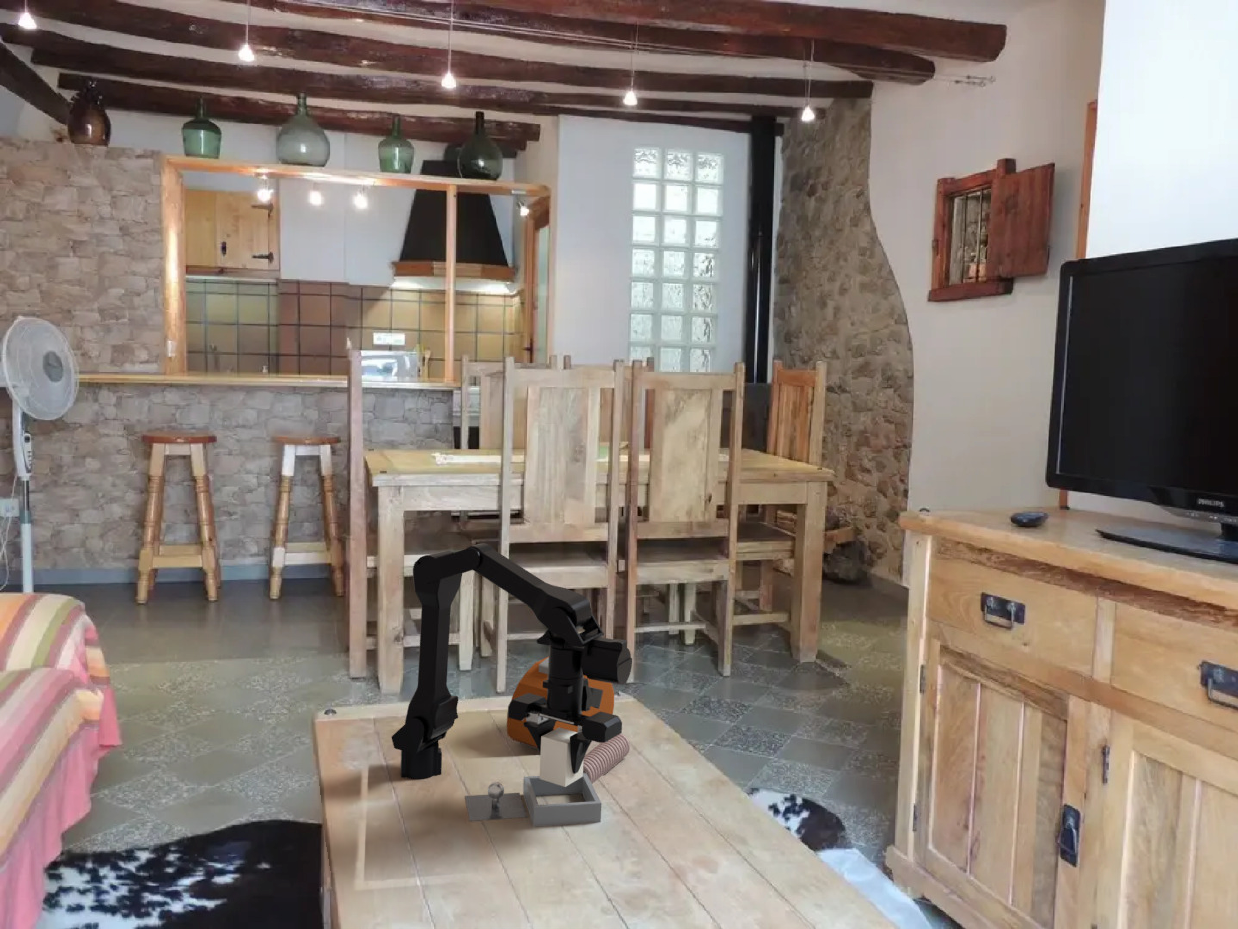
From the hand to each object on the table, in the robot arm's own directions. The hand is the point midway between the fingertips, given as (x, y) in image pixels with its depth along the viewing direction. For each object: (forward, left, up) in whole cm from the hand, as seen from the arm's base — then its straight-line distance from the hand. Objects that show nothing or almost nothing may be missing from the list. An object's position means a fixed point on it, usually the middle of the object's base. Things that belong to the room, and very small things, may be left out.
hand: (561, 768), depth 152 cm
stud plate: (-10, +2, -7) cm, 13 cm away
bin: (0, 0, -8) cm, 8 cm away
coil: (+10, +15, -8) cm, 20 cm away
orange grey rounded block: (+6, +33, -8) cm, 34 cm away
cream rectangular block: (0, 0, -2) cm, 2 cm away
